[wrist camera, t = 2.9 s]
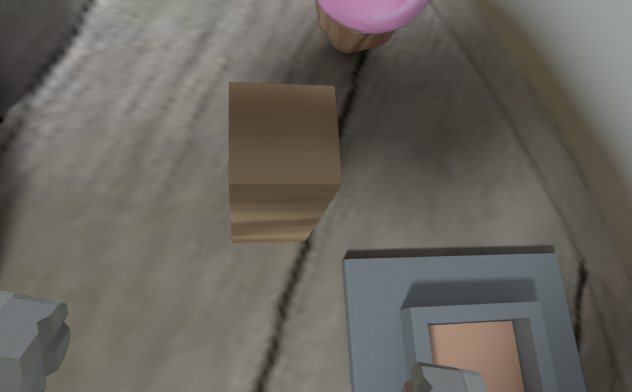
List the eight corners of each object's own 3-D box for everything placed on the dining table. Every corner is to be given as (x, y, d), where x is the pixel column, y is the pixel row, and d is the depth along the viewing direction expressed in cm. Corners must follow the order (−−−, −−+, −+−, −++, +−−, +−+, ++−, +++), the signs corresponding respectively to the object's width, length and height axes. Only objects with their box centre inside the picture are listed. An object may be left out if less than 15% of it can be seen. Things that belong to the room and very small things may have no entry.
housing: (601, 499, 30) (636, 514, 27) (362, 531, 27) (375, 552, 24) (549, 254, 34) (575, 247, 32) (342, 261, 32) (351, 253, 29)
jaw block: (305, 240, 32) (342, 183, 20) (232, 242, 31) (228, 183, 20) (301, 173, 33) (334, 85, 22) (231, 173, 32) (228, 82, 21)
